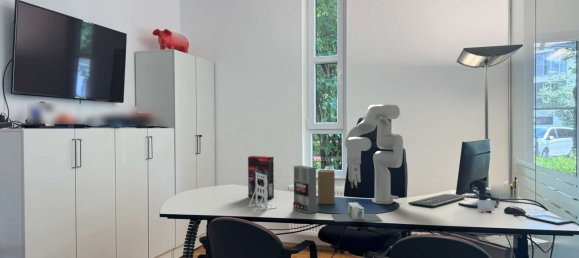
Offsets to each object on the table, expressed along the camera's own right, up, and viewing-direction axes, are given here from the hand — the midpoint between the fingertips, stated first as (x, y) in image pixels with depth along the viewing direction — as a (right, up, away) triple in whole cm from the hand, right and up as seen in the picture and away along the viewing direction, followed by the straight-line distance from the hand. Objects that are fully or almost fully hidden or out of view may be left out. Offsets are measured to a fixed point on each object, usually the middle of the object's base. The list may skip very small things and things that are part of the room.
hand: (353, 194), depth 215 cm
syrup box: (0, -8, +5) cm, 9 cm away
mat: (0, -11, -6) cm, 13 cm away
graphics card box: (-54, -10, +48) cm, 72 cm away
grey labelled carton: (-26, -11, +10) cm, 30 cm away
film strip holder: (-51, -11, +20) cm, 55 cm away
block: (-12, -10, +31) cm, 35 cm away
